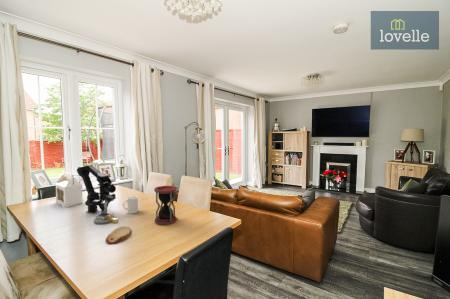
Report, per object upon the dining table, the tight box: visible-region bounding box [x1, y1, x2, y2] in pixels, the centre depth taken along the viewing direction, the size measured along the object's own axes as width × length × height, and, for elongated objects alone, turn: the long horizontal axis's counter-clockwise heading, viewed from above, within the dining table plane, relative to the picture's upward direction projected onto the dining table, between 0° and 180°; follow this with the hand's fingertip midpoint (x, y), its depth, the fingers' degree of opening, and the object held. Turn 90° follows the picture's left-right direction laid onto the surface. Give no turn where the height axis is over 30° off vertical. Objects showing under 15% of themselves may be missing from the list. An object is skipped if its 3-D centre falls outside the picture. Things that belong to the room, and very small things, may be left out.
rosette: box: [93, 212, 119, 225], centre depth 160 cm, size 18×13×4 cm
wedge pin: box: [100, 201, 108, 214], centre depth 172 cm, size 4×4×9 cm
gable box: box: [55, 171, 83, 208], centre depth 199 cm, size 22×13×28 cm, turn 55°
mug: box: [122, 195, 139, 214], centre depth 179 cm, size 12×8×12 cm
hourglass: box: [154, 185, 178, 226], centre depth 161 cm, size 16×16×25 cm
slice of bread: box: [105, 225, 132, 246], centre depth 137 cm, size 18×18×4 cm
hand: (104, 210), depth 173 cm, fingers closed on wedge pin, 3 cm apart
